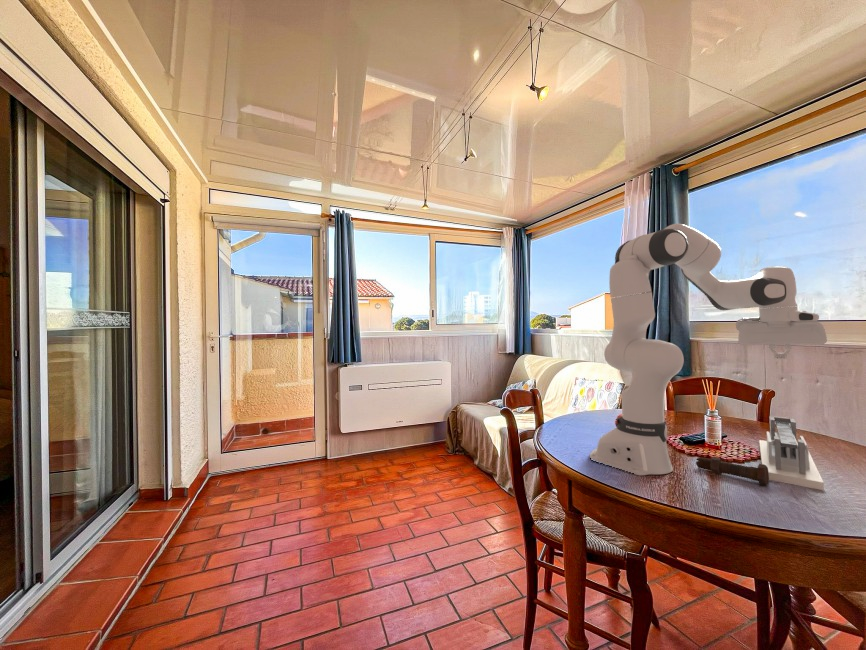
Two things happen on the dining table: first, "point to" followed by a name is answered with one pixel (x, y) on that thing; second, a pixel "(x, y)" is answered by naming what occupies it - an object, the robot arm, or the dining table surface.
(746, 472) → the bolt
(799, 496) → the dining table surface
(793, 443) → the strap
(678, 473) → the dining table surface
